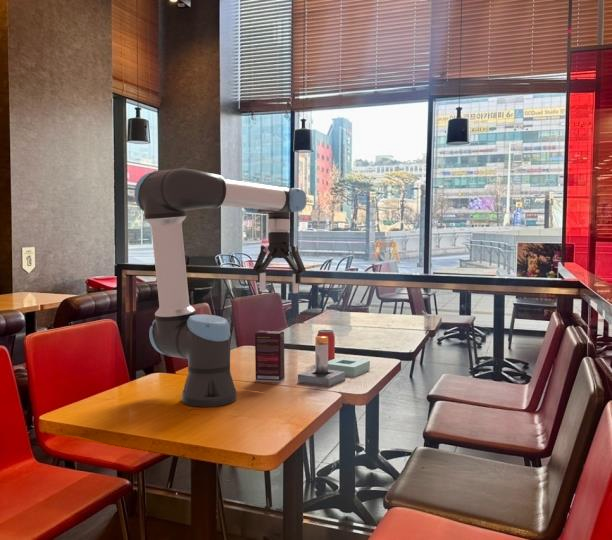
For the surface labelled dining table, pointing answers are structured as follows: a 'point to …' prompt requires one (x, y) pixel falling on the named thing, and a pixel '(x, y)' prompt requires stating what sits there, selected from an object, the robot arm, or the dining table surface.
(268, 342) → the supplement box
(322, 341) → the pin
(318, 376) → the mount
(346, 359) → the socket block
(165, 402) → the dining table surface
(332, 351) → the beer can
